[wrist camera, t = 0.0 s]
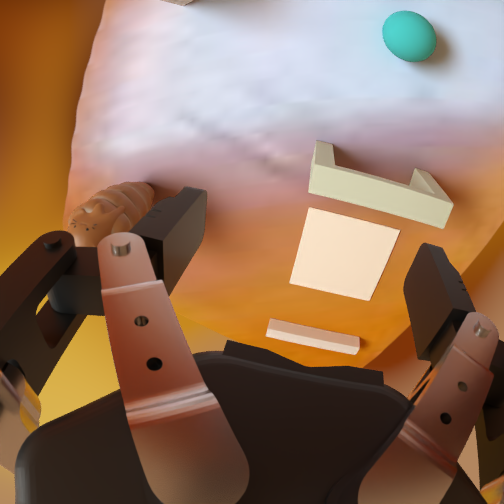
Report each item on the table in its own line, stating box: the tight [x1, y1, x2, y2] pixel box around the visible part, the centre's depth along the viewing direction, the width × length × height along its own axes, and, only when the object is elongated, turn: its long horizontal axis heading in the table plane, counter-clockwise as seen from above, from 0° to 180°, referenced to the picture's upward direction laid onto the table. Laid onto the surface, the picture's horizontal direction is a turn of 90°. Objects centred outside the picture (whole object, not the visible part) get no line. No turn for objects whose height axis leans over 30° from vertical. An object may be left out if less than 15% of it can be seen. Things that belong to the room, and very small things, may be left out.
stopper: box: [266, 318, 360, 355], centre depth 54 cm, size 2×16×2 cm, turn 82°
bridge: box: [308, 140, 454, 229], centre depth 34 cm, size 3×15×10 cm, turn 82°
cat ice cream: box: [68, 182, 154, 247], centre depth 38 cm, size 9×8×18 cm
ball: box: [382, 11, 436, 62], centre depth 25 cm, size 6×6×6 cm
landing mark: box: [289, 207, 400, 301], centre depth 45 cm, size 13×13×1 cm
